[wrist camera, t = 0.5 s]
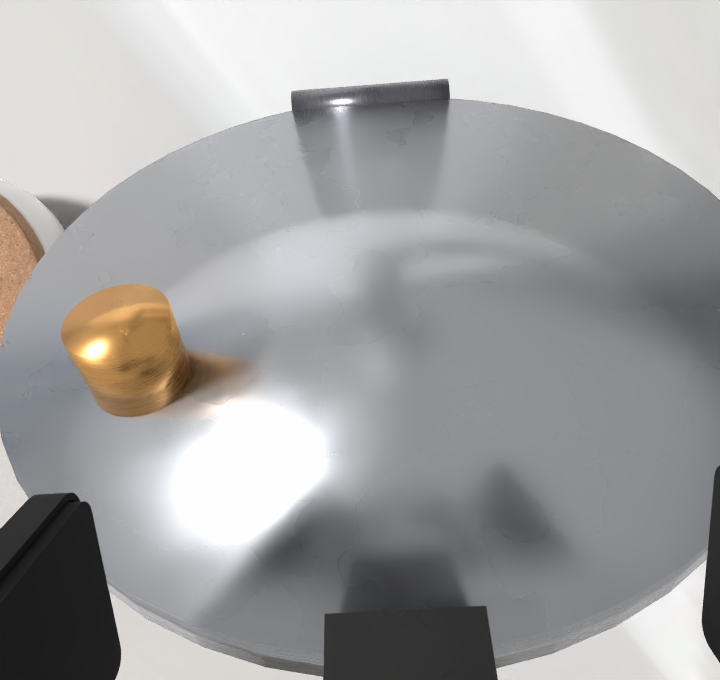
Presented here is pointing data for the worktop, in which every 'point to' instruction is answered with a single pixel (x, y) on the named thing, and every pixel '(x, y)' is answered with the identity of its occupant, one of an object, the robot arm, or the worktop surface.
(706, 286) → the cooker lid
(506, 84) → the worktop surface
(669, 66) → the worktop surface
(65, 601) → the robot arm
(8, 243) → the lidded jar
